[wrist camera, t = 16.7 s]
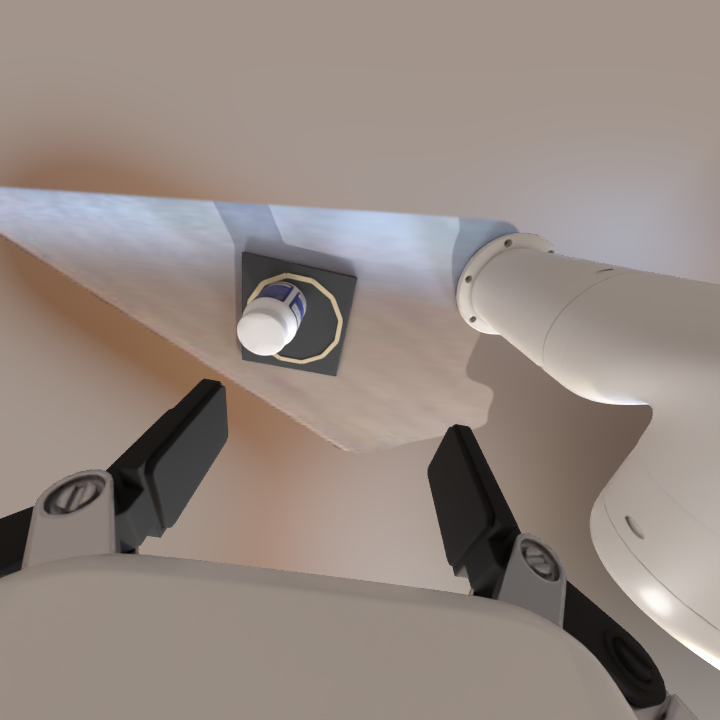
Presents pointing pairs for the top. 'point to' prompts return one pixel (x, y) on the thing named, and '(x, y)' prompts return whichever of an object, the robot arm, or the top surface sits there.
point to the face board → (322, 316)
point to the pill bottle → (271, 318)
